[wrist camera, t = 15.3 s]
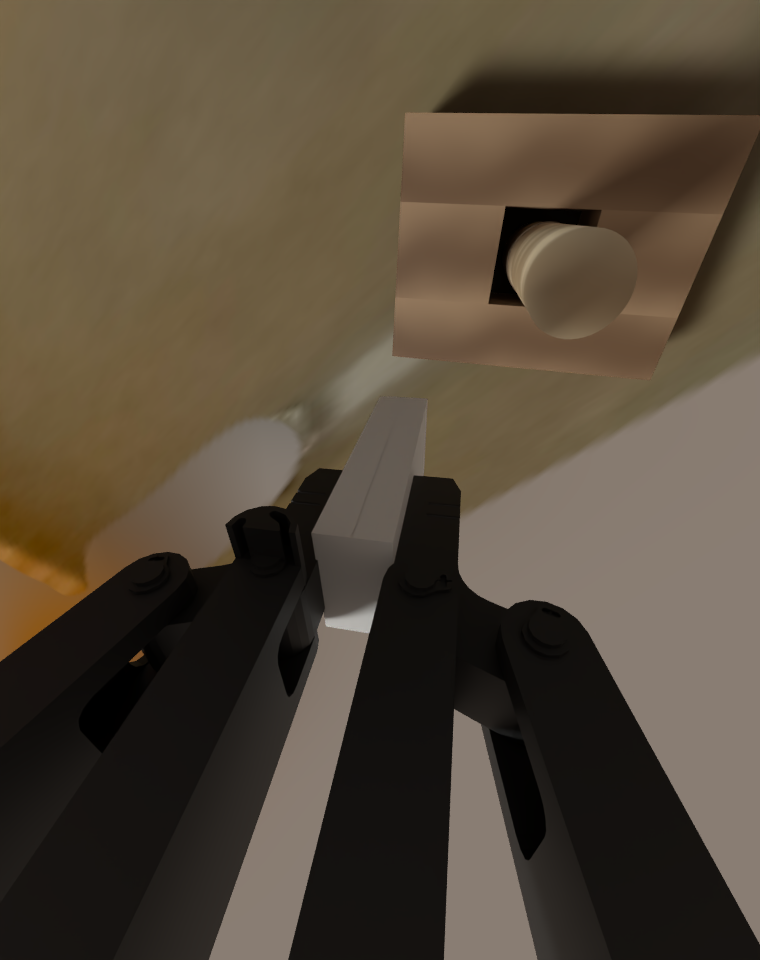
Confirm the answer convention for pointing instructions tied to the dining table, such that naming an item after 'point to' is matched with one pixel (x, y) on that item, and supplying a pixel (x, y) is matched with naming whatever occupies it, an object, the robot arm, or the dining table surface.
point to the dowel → (570, 276)
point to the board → (560, 186)
